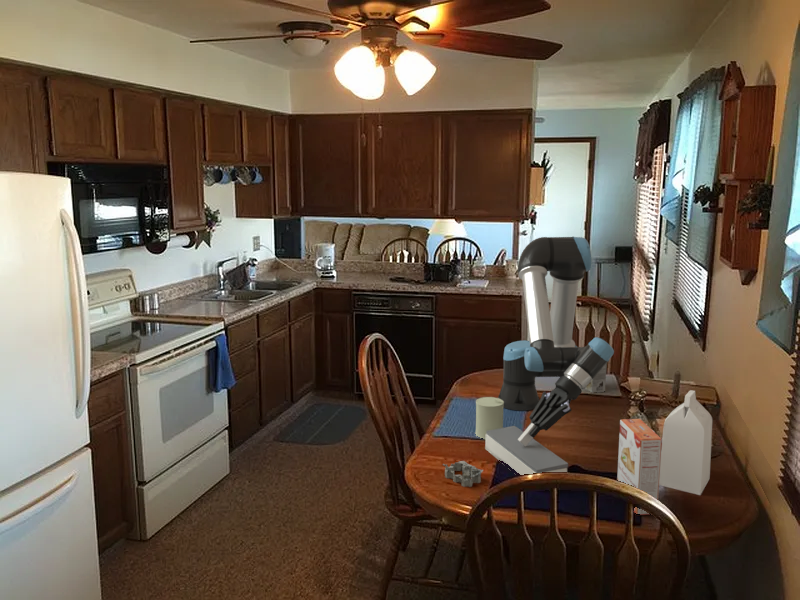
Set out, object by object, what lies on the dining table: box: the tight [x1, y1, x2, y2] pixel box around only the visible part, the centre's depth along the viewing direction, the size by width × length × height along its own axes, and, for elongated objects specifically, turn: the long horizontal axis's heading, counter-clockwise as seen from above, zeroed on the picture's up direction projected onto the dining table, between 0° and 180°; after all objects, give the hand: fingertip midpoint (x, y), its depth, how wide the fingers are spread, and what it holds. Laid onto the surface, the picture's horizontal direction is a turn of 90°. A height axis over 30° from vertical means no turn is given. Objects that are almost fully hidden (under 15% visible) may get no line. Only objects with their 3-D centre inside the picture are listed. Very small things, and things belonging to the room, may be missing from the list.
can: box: [475, 396, 504, 440], centre depth 227 cm, size 9×9×12 cm
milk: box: [659, 389, 713, 496], centre depth 192 cm, size 12×12×26 cm
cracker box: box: [616, 418, 662, 516], centre depth 180 cm, size 14×6×21 cm, turn 3°
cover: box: [486, 425, 569, 473], centre depth 204 cm, size 10×30×1 cm, turn 20°
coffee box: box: [584, 362, 608, 394], centre depth 272 cm, size 9×6×16 cm
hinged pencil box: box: [484, 434, 568, 475], centre depth 204 cm, size 10×30×5 cm, turn 20°
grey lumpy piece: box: [442, 460, 484, 488], centre depth 197 cm, size 11×8×4 cm
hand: (521, 443), depth 203 cm, fingers closed
